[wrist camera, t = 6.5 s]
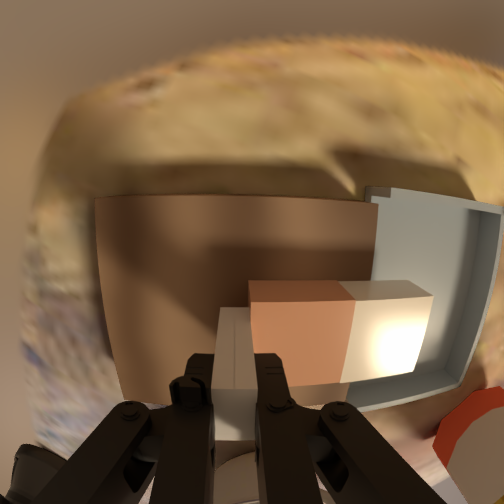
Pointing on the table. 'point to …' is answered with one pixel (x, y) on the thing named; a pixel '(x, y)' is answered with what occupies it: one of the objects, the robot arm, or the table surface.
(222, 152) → the table surface
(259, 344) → the orange square block
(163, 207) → the walnut board
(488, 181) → the table surface
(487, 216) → the tray
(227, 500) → the teacup
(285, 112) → the table surface
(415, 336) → the cream square block
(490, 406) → the french fries container
